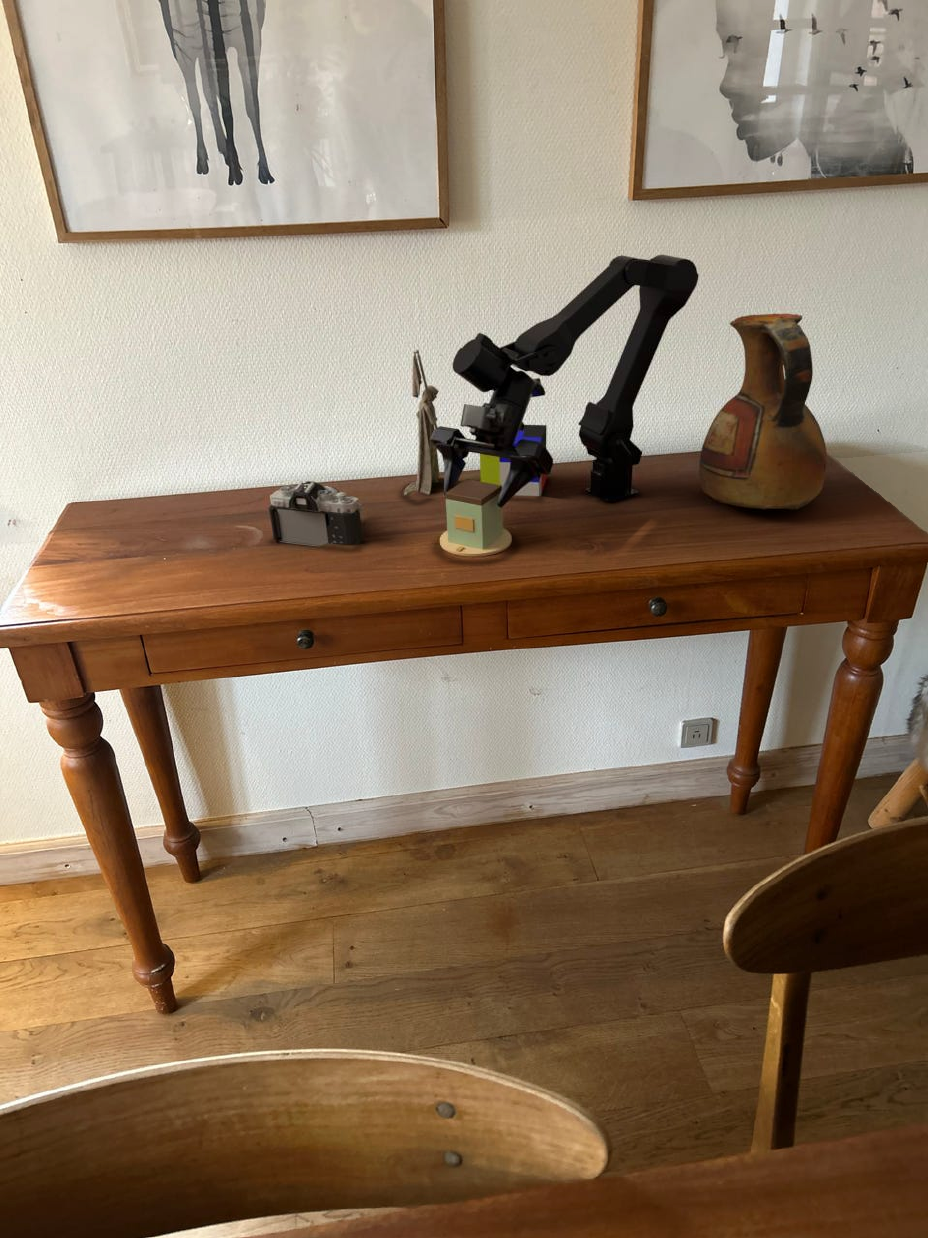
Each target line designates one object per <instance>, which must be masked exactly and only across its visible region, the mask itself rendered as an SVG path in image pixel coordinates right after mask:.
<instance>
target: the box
mask: <svg viewBox="0 0 928 1238" xmlns="http://www.w3.org/2000/svg"><path fill="white" fill-rule="evenodd" d="M501 490H502V485H496V484H491V483H485V482H481V480H480V481H479V480H473V479H468V478H466V479H464V480H463V481H461V482H460V483H457V484H456V485H455V487H454V488H452V489H451V490H449V491H448V492H446V493H445V494H446V496H445V511H446V512H445V513H446V531H443V533H442V534H441V535H440V537H439V544H440V546H441V548H442V549H443V550H444V551H445V552H448V553H450V554H453V555H455V556H461V557H471V558H473V557H487V556H490V555H495V554H498V553H501V552H503V551H505V550H506V549H507V548H509V547H510V545H511V544H512V540H513V539H512V534H511V533H510V532H509V531H508V530H507V529H506V528H504V515H503V512H504V511H503V509H504V508H503V507H499V506H498V505H497V502H498V499H499V495H500V492H501Z"/></svg>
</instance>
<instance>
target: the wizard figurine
mask: <svg viewBox="0 0 928 1238" xmlns="http://www.w3.org/2000/svg"><path fill="white" fill-rule="evenodd" d="M412 353H413V356H412V370H411V371H412V372H411V373H412V374H411V375H412V376H411V380H412V382H411V385H412V388H411V389H412V390H411V391H412V392H411V395H412V397H413V398H417V399H418V398H419V396H420V395H421V400H420V401H419V404H418V405H419V406H418V411H417V412H416V418H417V420H418V429H417V430H418V431H417V432H418V433H417V435H418V457H417V458H418V459H417V472H416V481H413V482H411V483H410V484H409V485H407V486H406V488H405V489H404V491H403V496H407V495H408V494H410V493H411V492H413V491H415V492H417V493H422V494H425V495H431V489H432V483H438V482H439V480H438V478H440V474H441V473H440V466H439V456H438V449H437V448H436V447H435V446H434V444H433V443H432V442H431V441H430V439H431V436H432V434H433V431H434V430H435V429H436V428H437V427H438V423H437V421H438V417H437V414H436V407H435V405H434V403H433V402H434V401H435V400H436V399H437V398H438V394H439V392H440V391H439V390H438V388H437V387H436V386H434V385H431V384H430V385H428V383H427V377H426V375H425V371H424V366H423V363H422V359H421V358H422V357H421V355H420V350H419V349H416V350H415V351H413V352H412ZM422 383H423V385H424V389H423V391H422V393H421V385H422ZM441 458H442V462H443V463H444V459H443V455H442V454H441Z"/></svg>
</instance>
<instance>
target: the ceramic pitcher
mask: <svg viewBox="0 0 928 1238" xmlns="http://www.w3.org/2000/svg"><path fill="white" fill-rule="evenodd" d="M802 320H803V315H799V314H794V313H793V314H792V313H764V314H763V313H761V314H749V315H742V316H739V317H737V318H735V319H734V320H732V321H730V322H729V325H730V326H731V327H732V328H733V329H734V330H736V332H737V333H738V335H739V337H740V339H741V341H742V345H743V349H744V374H743V375H744V376H743V382H742V385H741V388H740V390H739V391H738V392H737V394H736V395H734V396H733V397H731V398H730V399H729V400H728V401H727V402H726V403H725V404H724V405H723V406H722V408H720V410H719V411H718V412H717V414H716V416H715V417H714V418H713V420H712V423H711V424H710V426H709V428H708V431H707V433H706V435H705V438H704V441H703V443H702V446H701V451H700V457H699V466H698V467H699V468H698V469H699V470H698V471H699V482H700V487H701V489H702V491H703V492H704V493H705V494H706V495H708V496H709V497H711V498H712V499H714V500H715V501H717V502H719V503H722V504H727V505H731V506H736V507H741V508H748V509H759V510H760V509H762V510H767V509H768V510H775V509H776V510H782V509H787V510H798V509H800V508H802V507H805V506H806V505H808V504H810V503H811V502H813V500H815V499H816V497H817V496H819V494H820V493H821V492H822V490H823V487H824V483H825V479H826V475H827V465H828V454H827V453H828V452H827V446H826V441H825V437H824V434H823V432H822V428H821V425H820V424H819V422H818V420H817V418H816V417H815V415H814V413H813V412H812V411H811V410H810V408H809V407H808V405H807V404H806V402H807V400H808V396H809V394H810V389H811V385H812V381H813V375H814V371H813V370H814V369H813V368H814V367H813V357H812V349H811V344H810V341H809V338H808V337H807V335H806V333H805V332H804V330H803V328H802V326H801V325H800V324H799V323H800V322H801V321H802Z"/></svg>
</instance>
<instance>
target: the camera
mask: <svg viewBox="0 0 928 1238" xmlns="http://www.w3.org/2000/svg"><path fill="white" fill-rule="evenodd" d="M269 499H270V506H269V507H268V512H269V518H270V519H269V520H270V524H271V530H272V539H273V541H276V542H279V543H286V544H292V545H293V544H294V545H302V546H309V547H318V548H321V547H322V546H324V545H326V544H333V545H340V546H357V545H358V544H359V543H360V542H361V541H362V540H363V539H364V538H363V529H362V519H361V512H362V511H361V509H362V507H363V504H362V503H360V502H359V498H357V497H356V496H349V495H347V493H346V492H343V491H340V490H339V489H337V488H335V487H334V486H332V485H323V484H322V483H319V482H316V481H313V480H306V481H305V482H304V481H303V480H302V481H300V482H299V483H298V484H297V485H296V486H294V485H284V486H281V487H280V488H279V489H278V490H276V491H274V492H273V493H272V494H270V495H269Z"/></svg>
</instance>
